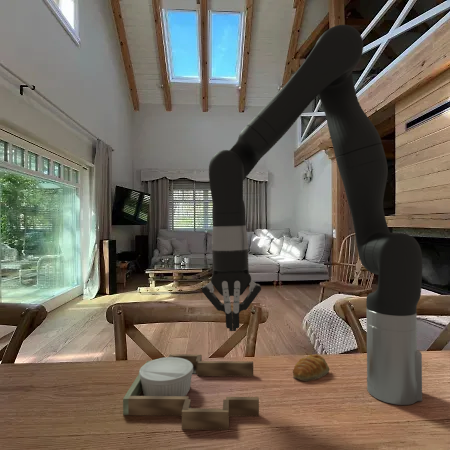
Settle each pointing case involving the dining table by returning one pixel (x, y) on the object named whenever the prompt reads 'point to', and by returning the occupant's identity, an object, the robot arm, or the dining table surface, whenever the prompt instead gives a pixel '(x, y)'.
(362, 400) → the dining table surface
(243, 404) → the box
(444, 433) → the dining table surface
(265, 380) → the dining table surface
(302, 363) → the pastry
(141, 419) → the dining table surface
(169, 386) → the ramekin
